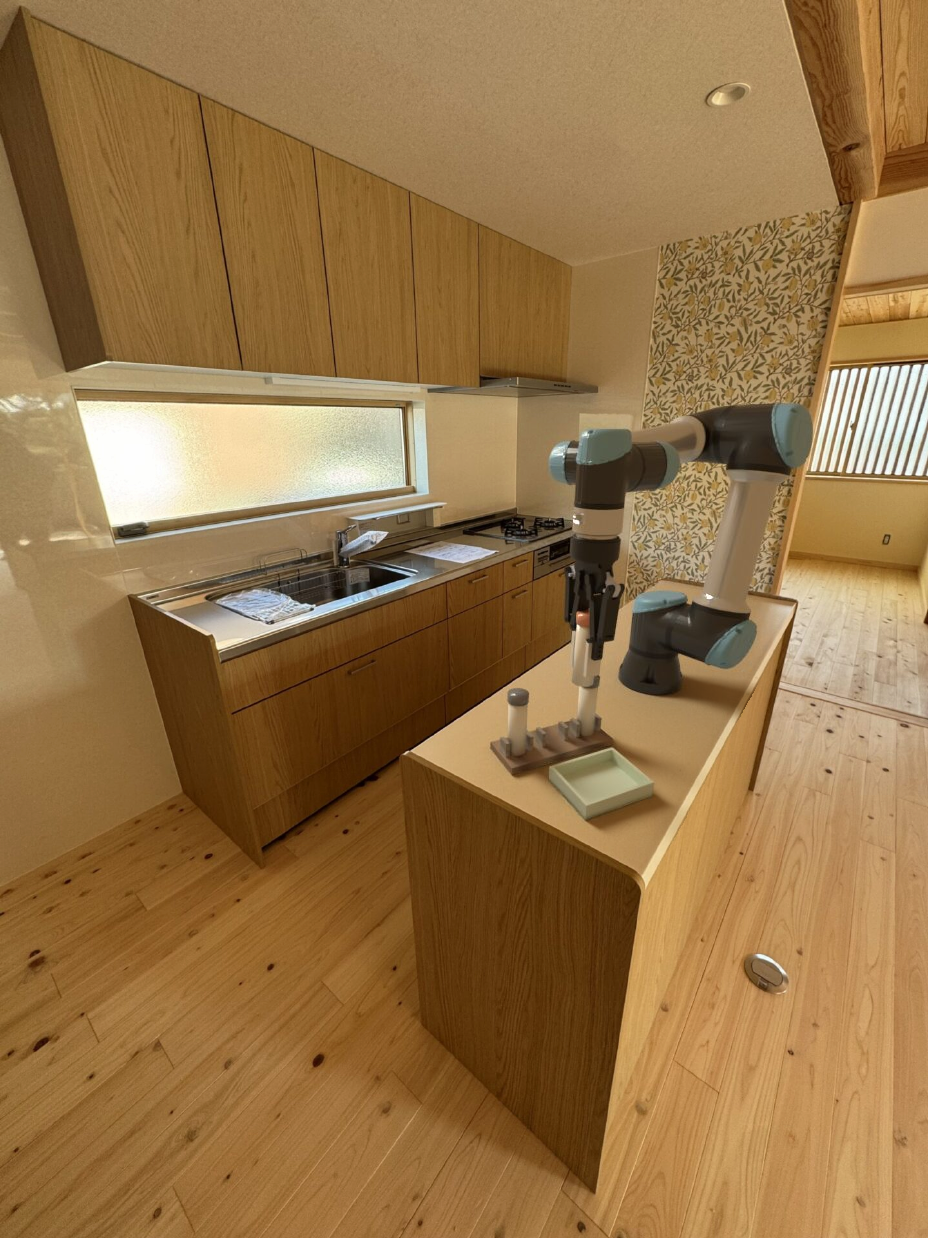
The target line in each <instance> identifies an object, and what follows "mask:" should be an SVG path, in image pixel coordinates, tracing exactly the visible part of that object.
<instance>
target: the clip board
mask: <svg viewBox="0 0 928 1238" xmlns="http://www.w3.org/2000/svg"><path fill="white" fill-rule="evenodd" d="M601 727H602V717H601V716H600V715H598V714H597V713H596V715H595V725H594V733H593V734H592V735H590V736H583V735H580V723H579V722H578V721H577V718H575V717H571V718H570V719H569V720H568V721H563V720H562V721H558V723H556V724H553V725H549V726H545V727H542V728H541V727H536V728H535V729H534V730H530V731H529V730H528V729H527V736H526V752H525V754H523V755H521V756H514V755H511V754H510V743H509V742H508V737H505V736H501V737H499V738H500V739H497V740H494V741H490V742H489V744H490V747H489V748H490V750H491V751H492V752H493V754H494V755H495V756H496V757H497V759H498V760H499V761H500V763H502V766H504V767H505V769H506V770H507V771H508V772H509V774H510V775H511V776H513V775H517V774H519V773H522V772H523V773H524V772H526V771H529V770H533V769H536V768H539V767H543V766H546V765H550V764H553V763H556V762H560V761H562V760H567V759H570V758H573V757H576V756H579V755H583V754H585V753H589V752H591V751H592V752H593V751H596V750H600V749H602V748H603V749H604V748H606V747H609V746H612V745H613V742H614V741H613V740H614V739H613V737H611V735H609V734H608V733H607V732H606V731H604V729H602V728H601Z"/></svg>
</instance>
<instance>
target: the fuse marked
mask: <svg viewBox="0 0 928 1238" xmlns="http://www.w3.org/2000/svg"><path fill="white" fill-rule="evenodd" d="M576 623H577V628H576V639H575V651H574V662H573V667H572V673H571V675H572V676H571V683H572V684H574V685H575V686H577V687H579V686H581V687H589V686H591V685H593V679H594V676H591V677H584V676H583V673H584V661H585V650H586V639H589V638H590V614H589V610H581V611H577V613H576Z"/></svg>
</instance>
